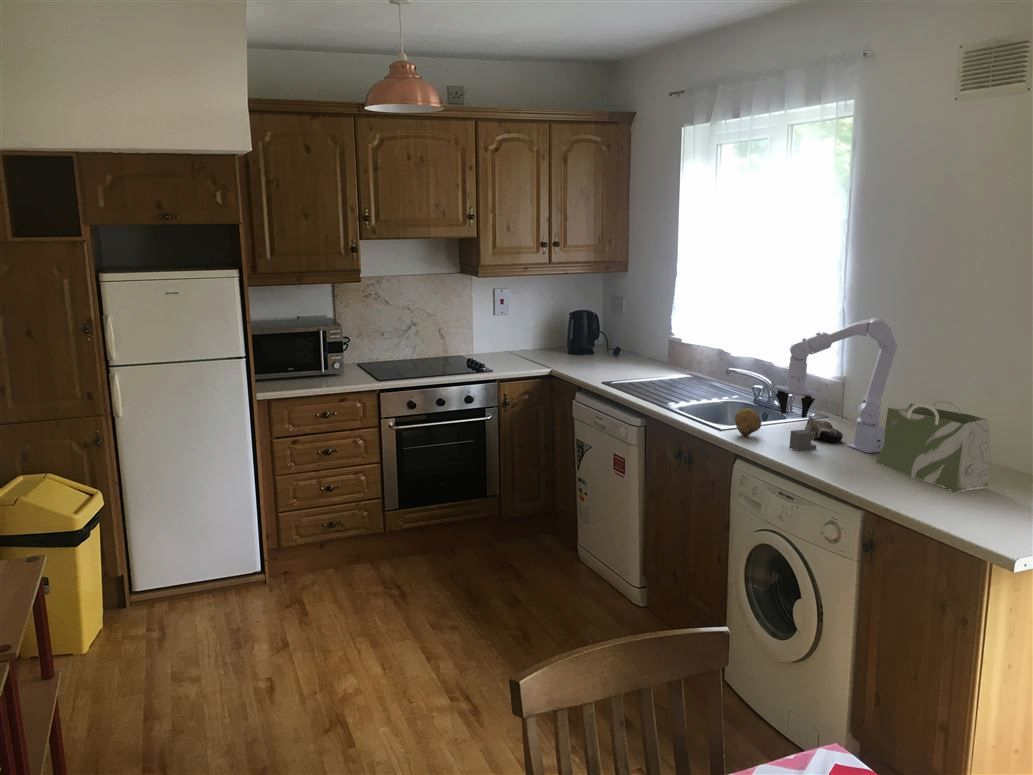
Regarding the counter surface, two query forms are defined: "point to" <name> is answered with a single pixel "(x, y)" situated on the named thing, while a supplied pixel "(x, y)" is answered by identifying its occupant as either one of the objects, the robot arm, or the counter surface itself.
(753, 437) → the counter surface
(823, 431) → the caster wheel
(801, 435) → the stepped grey block
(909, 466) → the grocery bag
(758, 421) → the natural sponge
